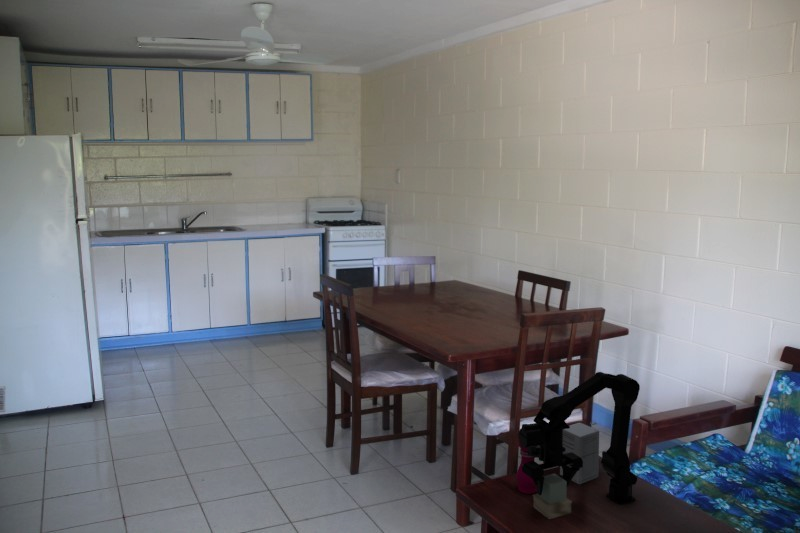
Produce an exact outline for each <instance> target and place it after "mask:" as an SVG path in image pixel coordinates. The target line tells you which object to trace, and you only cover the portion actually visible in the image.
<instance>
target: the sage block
mask: <svg viewBox="0 0 800 533" xmlns="http://www.w3.org/2000/svg"><path fill="white" fill-rule="evenodd" d="M543 477H544V484H543V490H542V494H541V495H539V494H538V493H537V494H538V496H539V497H541V498H542V499H543V500H545V501H546V502H547V503H549V504H554V503H557V502H561V501H565V500H566V497H567V493H568V492H567V490H568V487H567V481H565V480H564V479H563V477H561V476H559V475H558V474H557V473H551V474H547V475H546V474H545V475H543Z"/></svg>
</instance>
